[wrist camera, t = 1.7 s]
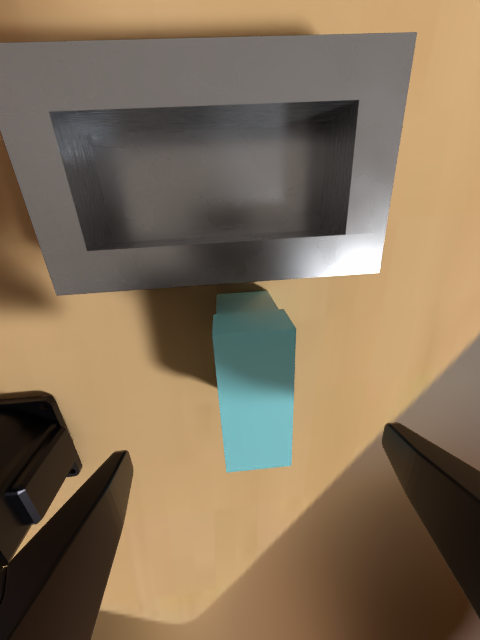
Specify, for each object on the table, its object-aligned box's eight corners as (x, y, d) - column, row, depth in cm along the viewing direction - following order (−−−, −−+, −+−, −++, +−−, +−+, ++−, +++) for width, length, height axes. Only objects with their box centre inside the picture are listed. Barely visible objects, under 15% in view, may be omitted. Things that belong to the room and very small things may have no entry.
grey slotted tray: (95, 275, 13) (56, 295, 10) (46, 94, 11) (-30, 43, 7) (342, 258, 14) (379, 272, 11) (359, 83, 11) (417, 32, 8)
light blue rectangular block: (269, 390, 17) (291, 465, 12) (224, 394, 17) (226, 472, 12) (269, 286, 14) (296, 328, 9) (214, 290, 14) (212, 335, 9)
